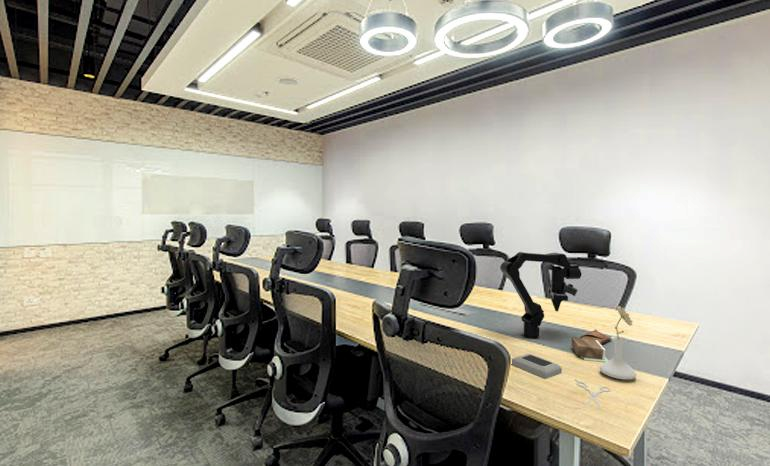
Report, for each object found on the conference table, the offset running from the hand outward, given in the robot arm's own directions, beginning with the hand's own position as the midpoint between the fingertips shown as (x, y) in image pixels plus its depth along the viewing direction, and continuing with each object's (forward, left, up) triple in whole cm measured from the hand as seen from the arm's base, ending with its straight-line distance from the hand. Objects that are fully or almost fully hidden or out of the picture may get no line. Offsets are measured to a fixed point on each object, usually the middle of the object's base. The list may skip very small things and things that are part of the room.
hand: (556, 311), depth 178 cm
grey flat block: (-14, -45, -13) cm, 49 cm away
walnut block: (+4, -22, -9) cm, 24 cm away
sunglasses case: (+16, -5, -12) cm, 21 cm away
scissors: (+1, -62, -13) cm, 63 cm away
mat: (+10, -22, -12) cm, 27 cm away
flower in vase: (+14, -42, -12) cm, 46 cm away
